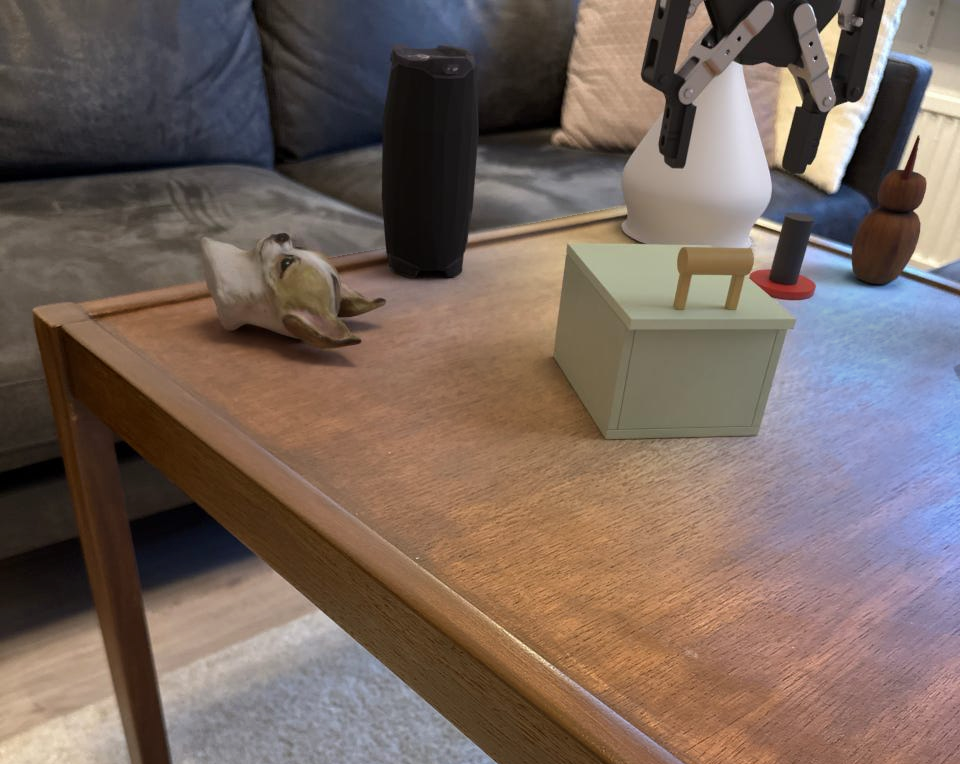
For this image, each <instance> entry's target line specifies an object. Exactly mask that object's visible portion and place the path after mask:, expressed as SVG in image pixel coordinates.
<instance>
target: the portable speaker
mask: <svg viewBox="0 0 960 764" xmlns="http://www.w3.org/2000/svg"><path fill="white" fill-rule="evenodd" d="M389 61H390V62H391V67H390V72H389V79H388V83H387V84H388V85H387V91H386V97H385V103H384V110H383V116H382V141H381V142H382V143H381V144H382V146H381V148H382V149H381V150H382V151H381V154H382V155H381V205H382V217H383V218H382V219H383V231H384V243H385V244H384V245H385V253H386V258H387V265H388V267H389V268H390V270H391V271H392V272H393V273H395V274H399V275H402V276H405V277H408V278H411V279H412V278H414V277H416V276H417V275H418V273H419V272H443V274H444V275H445V276H446V277H447V278H456V277H457V276H459V274H460V273H462V272H463V266H464V265H463V263H464V255H465V253H466V249H467V244H468V243H469V242H468V241H469V232H470V226H471V220H472V213H473V209H474V197H475V196H474V195H475V185H476V174H477V173H476V171H477V159H478V146H479V136H480V135H479V101H478V99H479V98H478V70H477V69H478V68H477V66H478V65H477V63H476V58H475V55H474V54H473V52H472V50H469V49H467V48H464V47H462V46H452V45H442V44H441V45H440V44H439V45H438V46H436V48H435V47H433V48H432V47H431V48H430V47H429V48H412V47H409V46H408V45H407V44H402V43H401V44H399V43H398V44H393V45H392V48H391V52H390V54H389Z"/></svg>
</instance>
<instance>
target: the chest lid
mask: <svg viewBox="0 0 960 764" xmlns="http://www.w3.org/2000/svg"><path fill="white" fill-rule="evenodd" d="M565 253H566V254H568V255H569V257H570V258H571V259H572V260H573V262H574V263H575V264H576V265H577V266H578V268H579V269H580V270H581V271H582V273H583V274H584V275H585V276H586V277H587V279H588V280H589V281H590V282H591V284H592V285H593V286H594V287H595V289H596V290H597V291H598V292H599V293H600V295H601V296H602V297H603V298H604V300H605V301H606V302H607V303H608V304H609V306H610V307H611V308H612V309H613V311H614V312H615V313H616V314H617V316H618V317H619V318H620V319H621V320H622V322H623V323H624V324H625V325H626V327H627V328H628V329H629V330H699V329H787V330H794V329H795V326H796V322H797V317H795V316H794V315H793V314H792V313H791V312H789V311H788V310H787V309H786V308H785V307H784V306H782V305H781V304H780V303H779V302H778V301H777V300H776V299H774V297H772V296H769V295H768V294H767V293H766V292H765V291H763V290H762V289H761V288H760V287H759V286H758V285H756V284H755V283H754V282H753V281H752V280H751V279H749V277H748V276H749V275H750V274H751V273H752V272H753V271H752V270H753V268H754V263H755V254H754V251H753V249H752V248H751V247H749V248H716V247H712V246H711V245H660V244H645V243H597V242H595V243H591V242H589V243H588V242H567V244H566V251H565Z"/></svg>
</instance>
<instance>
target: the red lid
mask: <svg viewBox="0 0 960 764" xmlns="http://www.w3.org/2000/svg"><path fill="white" fill-rule="evenodd" d="M814 223H815V217H814V216H812V215H810V214H807V213H802V212H786V213H784V217H783V221H782V225H781V227H780V231H779V232H780V233H779V236H778V240H777V244H776V248H775V252H774V256H773V259H772V263H771V268H769V269H765V268H764V269H757V270H754V271H751V272H750V274H749V277H748V278H749V279H751V280H752V281H753V282H754V283H755V284H756V285H758V286H759V287H760V288H761V289H762V290H763V291H765V292H766V293H767V294H768V295H769V296H770V297H772V298H776V299H782V300H783V299H784V300H806V299H809V298H811V297H813V296H814V294H815V292H816V288H817V285H816V283H815V282H814V281H813V280H812V279H811V278H808V277H807V276H804V275H803V274H801V270H802V267H803V262H804V259H805V255H806V252H807V248H808V244H809V241H810V237H811V234H812V230H813V227H814Z"/></svg>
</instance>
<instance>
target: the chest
mask: <svg viewBox="0 0 960 764" xmlns="http://www.w3.org/2000/svg"><path fill="white" fill-rule="evenodd" d="M560 290H561V291H560V299H559V305H558V306H559V307H558V312H557V313H558V315H557V321H556V322H557V323H556V331H555V336H554V337H555V338H554V345H553V346H554V347H553V351H552V352H553V353H552V357H553V359H554V360H555V361H556V363H557V365H558V366H559V368H560V370H561V371H562V373H563V374H564V376H565V378H566V379H567V381H568V382H569V384H570V385H571V387H572V389H573V390H574V392H575V394H576V395H577V397H578V398H579V400H580V401H581V403H582V404H583V405H584V408H585V409H586V410H587V412H588V414H589V415H590V417H591V418H592V420H593V422H594V424H595V425H596V426H597V428H598V430H599V431H600V433H601V435H602V436H603V438H604V439H605V440H632V439H633V440H635V439H672V438H673V439H675V438H676V439H677V438H708V437H709V438H710V437H711V438H712V437H713V438H714V437H745V436H747V437H749V436H758V435H759V433H760V431H761V426H762V422H763V419H764V416H765V415H764V414H765V411H766V408H767V404H768V401H769V396H770V393H771V390H772V386H773V383H774V379H775V376H776V372H777V369H778V366H779V362H780V358H781V355H782V350H783V348H784V343H785V339H786V336H787V332H788V329H699V330H629V329H628V328H627V327H626V325H625V324H624V323H623V322H622V320H621V319H620V318H619V317H618V316H617V314H616V313H615V312H614V311H613V309H612V308H611V307H610V306H609V304H608V303H607V302H606V301H605V300H604V298H603V297H602V296H601V295H600V293H599V292H598V291H597V290H596V289H595V287H594V286H593V285H592V284H591V282H590V281H589V280H588V279H587V277H586V276H585V275H584V274H583V273H582V271H581V270H580V269H579V268H578V266H577V265H576V264H575V263H574V262H573V260H572V259H571V258H570V257H569V255H568V254H567V253H566V254H565V259H564V267H563V275H562V284H561V289H560Z"/></svg>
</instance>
